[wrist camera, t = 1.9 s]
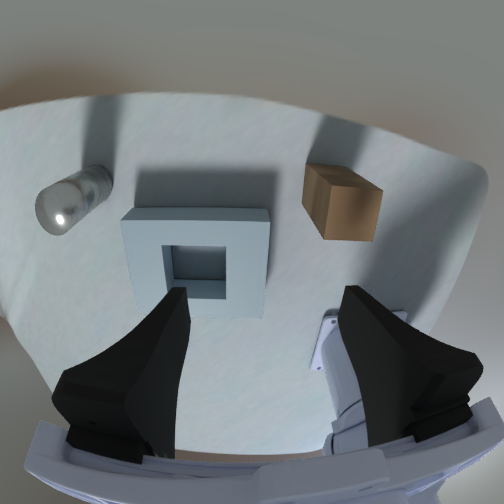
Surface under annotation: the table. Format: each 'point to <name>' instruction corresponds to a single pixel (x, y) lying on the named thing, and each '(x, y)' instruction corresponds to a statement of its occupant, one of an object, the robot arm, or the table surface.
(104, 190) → the cylinder
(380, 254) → the table surface
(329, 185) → the square bit
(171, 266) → the socket block
